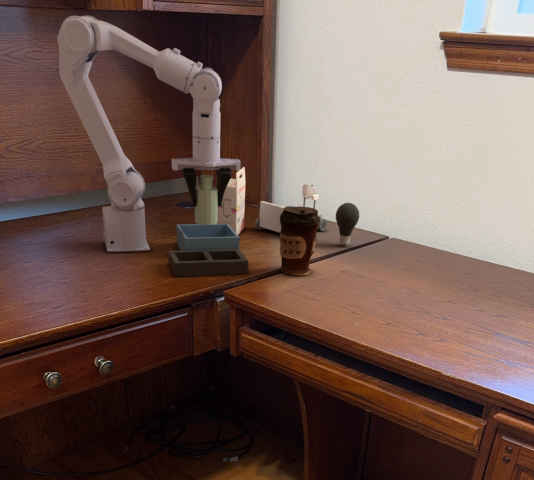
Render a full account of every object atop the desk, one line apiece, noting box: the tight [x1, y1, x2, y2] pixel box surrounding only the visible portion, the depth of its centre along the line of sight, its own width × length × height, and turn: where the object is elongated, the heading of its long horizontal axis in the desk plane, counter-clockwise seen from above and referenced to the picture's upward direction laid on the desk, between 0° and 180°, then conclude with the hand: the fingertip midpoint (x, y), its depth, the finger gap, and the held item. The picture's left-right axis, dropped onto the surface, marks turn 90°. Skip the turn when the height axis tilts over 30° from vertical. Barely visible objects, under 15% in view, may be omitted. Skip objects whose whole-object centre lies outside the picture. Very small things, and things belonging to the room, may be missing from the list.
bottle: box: [194, 174, 218, 225], centre depth 146 cm, size 5×5×10 cm
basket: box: [176, 223, 240, 251], centre depth 152 cm, size 12×11×4 cm
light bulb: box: [335, 202, 360, 248], centre depth 160 cm, size 6×6×10 cm
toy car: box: [254, 184, 328, 233], centre depth 169 cm, size 18×10×12 cm
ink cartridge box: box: [217, 166, 246, 236], centre depth 163 cm, size 9×5×15 cm, turn 168°
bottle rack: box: [167, 248, 249, 277], centre depth 142 cm, size 16×8×3 cm, turn 106°
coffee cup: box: [279, 205, 320, 276], centre depth 141 cm, size 9×8×13 cm
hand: (206, 205), depth 147 cm, fingers closed on bottle, 5 cm apart
